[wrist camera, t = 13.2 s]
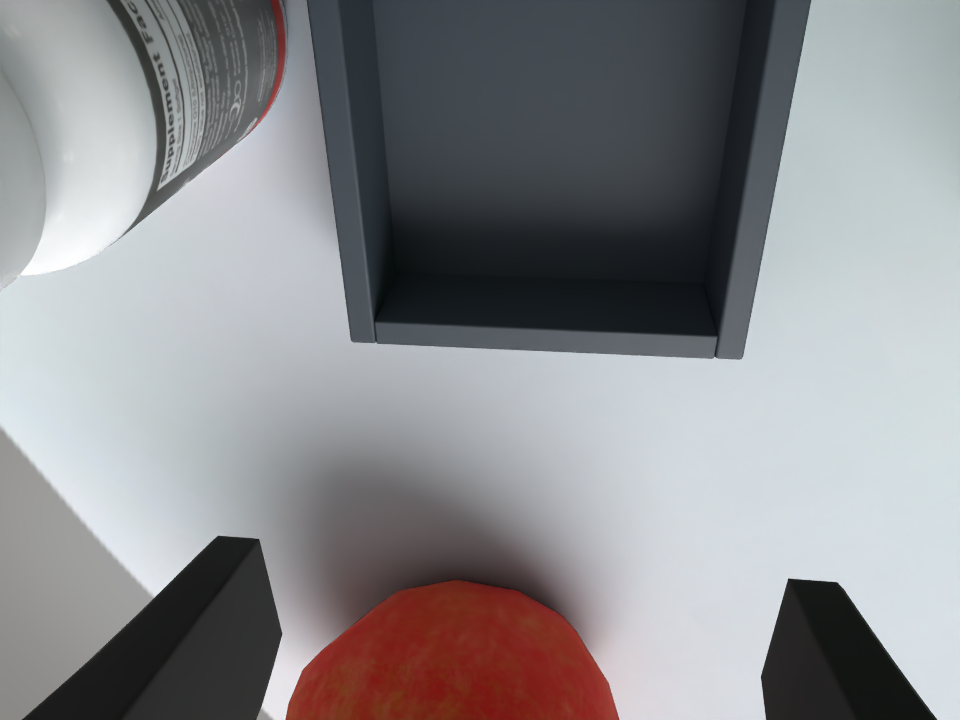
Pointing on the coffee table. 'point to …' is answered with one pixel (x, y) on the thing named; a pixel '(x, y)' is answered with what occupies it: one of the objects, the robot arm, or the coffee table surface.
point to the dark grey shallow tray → (555, 168)
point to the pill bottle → (120, 113)
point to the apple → (455, 662)
